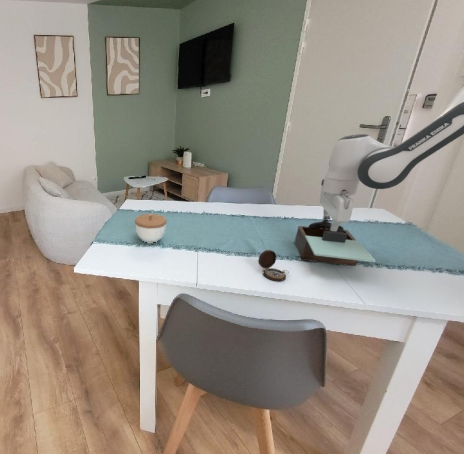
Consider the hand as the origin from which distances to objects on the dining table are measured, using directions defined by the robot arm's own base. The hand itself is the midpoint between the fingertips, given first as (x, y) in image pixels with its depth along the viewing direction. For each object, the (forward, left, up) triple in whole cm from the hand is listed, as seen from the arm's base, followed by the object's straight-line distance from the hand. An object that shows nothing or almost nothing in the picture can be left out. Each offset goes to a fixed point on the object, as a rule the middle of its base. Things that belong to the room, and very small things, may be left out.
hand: (329, 225), depth 100 cm
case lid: (0, +12, -3) cm, 12 cm away
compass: (+17, +21, -11) cm, 29 cm away
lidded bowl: (+61, +7, -11) cm, 62 cm away
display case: (0, +1, -10) cm, 10 cm away
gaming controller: (0, 0, -3) cm, 3 cm away
